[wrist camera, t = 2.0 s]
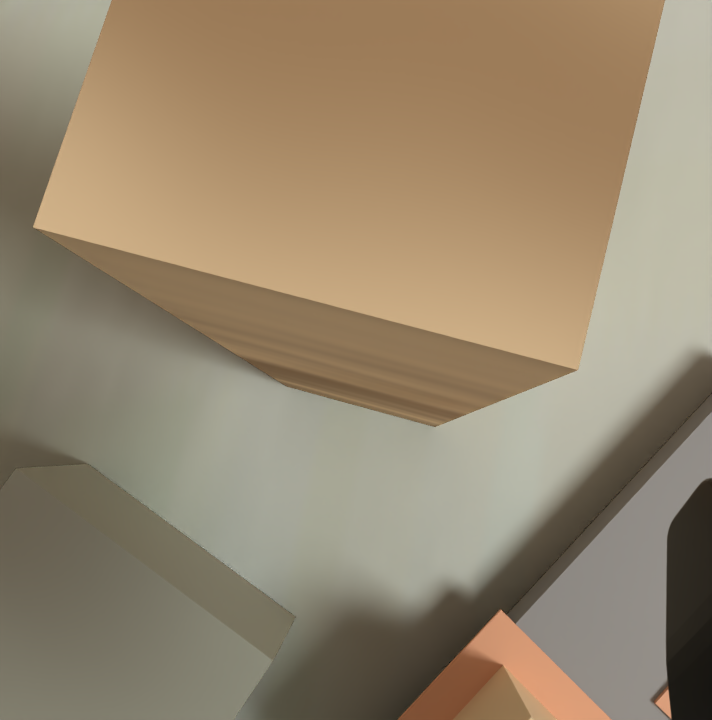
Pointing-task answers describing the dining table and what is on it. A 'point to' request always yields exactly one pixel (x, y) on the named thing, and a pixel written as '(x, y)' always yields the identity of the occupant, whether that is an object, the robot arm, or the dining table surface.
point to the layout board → (586, 613)
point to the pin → (361, 183)
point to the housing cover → (119, 609)
